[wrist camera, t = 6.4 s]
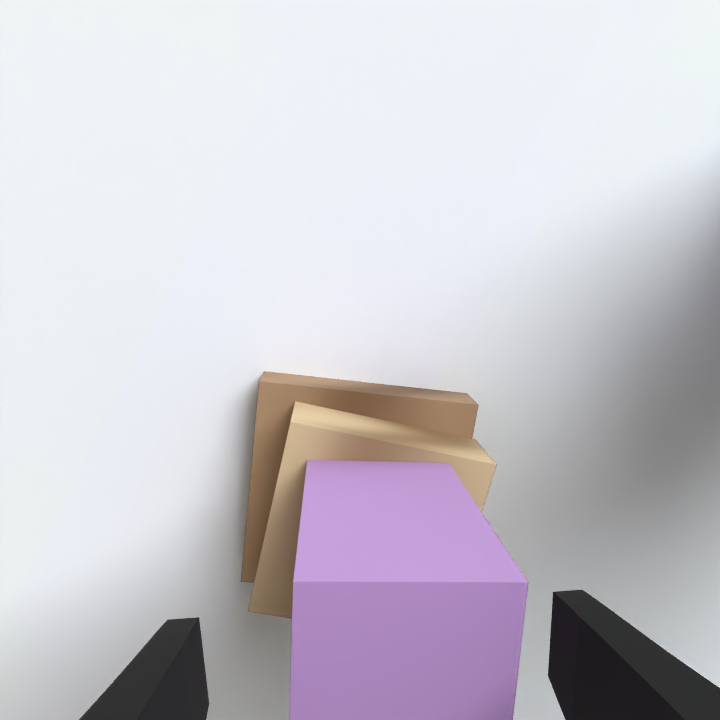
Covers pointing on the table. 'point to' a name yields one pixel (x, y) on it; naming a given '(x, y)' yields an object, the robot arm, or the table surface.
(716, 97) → the table surface
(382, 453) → the oak tile
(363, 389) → the walnut tile
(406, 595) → the purple block
